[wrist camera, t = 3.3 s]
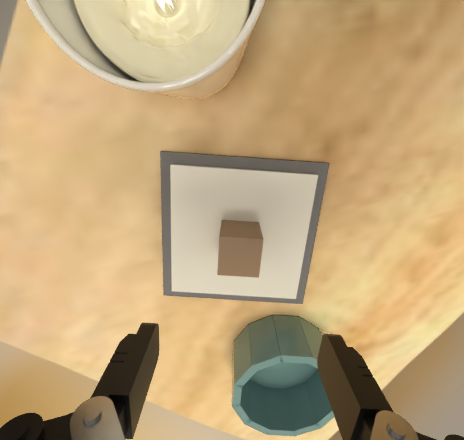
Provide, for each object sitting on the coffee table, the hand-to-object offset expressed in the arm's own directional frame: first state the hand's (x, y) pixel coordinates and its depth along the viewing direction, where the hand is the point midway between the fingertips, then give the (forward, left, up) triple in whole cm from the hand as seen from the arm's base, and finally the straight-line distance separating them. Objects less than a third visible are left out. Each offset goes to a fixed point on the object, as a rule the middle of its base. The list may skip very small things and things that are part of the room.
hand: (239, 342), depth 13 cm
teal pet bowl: (-6, +15, -14) cm, 21 cm away
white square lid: (0, 0, -14) cm, 14 cm away
